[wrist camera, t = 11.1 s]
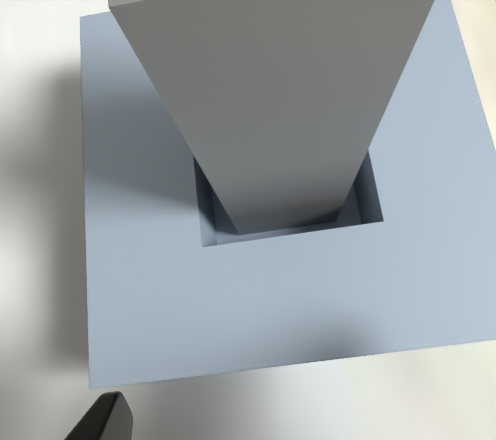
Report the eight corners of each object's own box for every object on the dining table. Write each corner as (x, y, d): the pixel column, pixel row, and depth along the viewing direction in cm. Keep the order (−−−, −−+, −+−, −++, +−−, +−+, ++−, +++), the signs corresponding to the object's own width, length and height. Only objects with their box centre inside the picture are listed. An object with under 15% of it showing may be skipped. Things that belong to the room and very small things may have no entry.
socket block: (481, 330, 16) (550, 333, 12) (139, 372, 17) (89, 389, 13) (404, 32, 20) (436, -49, 16) (123, 80, 21) (79, 16, 17)
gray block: (335, 221, 17) (460, -59, 5) (240, 235, 17) (109, 7, 5) (319, 133, 18) (385, -295, 6) (229, 148, 18) (97, -230, 6)
